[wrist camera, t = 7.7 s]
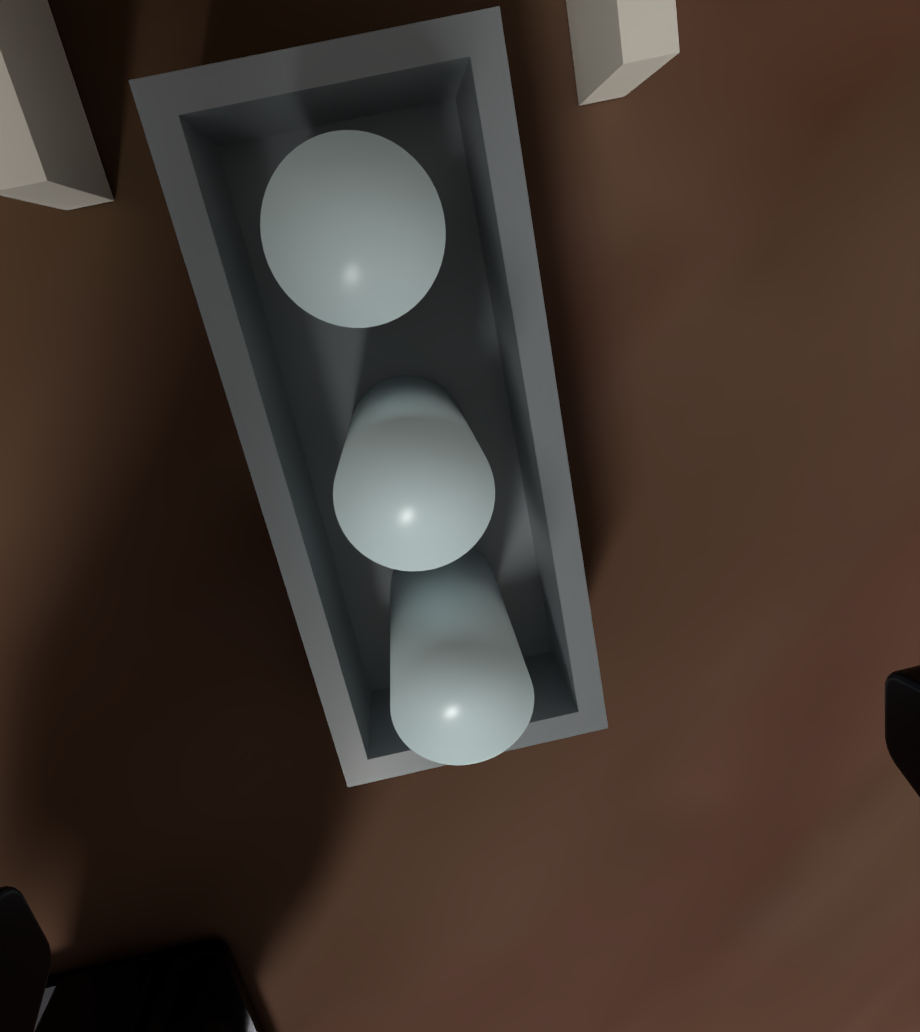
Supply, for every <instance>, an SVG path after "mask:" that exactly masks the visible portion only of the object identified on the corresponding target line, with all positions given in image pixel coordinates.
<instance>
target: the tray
mask: <svg viewBox="0 0 920 1032" xmlns="http://www.w3.org/2000/svg"><path fill="white" fill-rule="evenodd" d="M128 81H129V84H130V87H131V90H132V94H133V97H134V100H135V103H136V107H137V110H138V113H139V116H140V119H141V123H142V126H143V129H144V132H145V136H146V139H147V142H148V145H149V148H150V152H151V155H152V158H153V161H154V165H155V168H156V171H157V174H158V177H159V181H160V184H161V187H162V190H163V194H164V197H165V200H166V203H167V206H168V210H169V213H170V216H171V219H172V223H173V226H174V229H175V232H176V235H177V239H178V242H179V245H180V248H181V252H182V255H183V258H184V261H185V264H186V268H187V271H188V274H189V277H190V281H191V284H192V287H193V290H194V293H195V297H196V300H197V303H198V306H199V310H200V313H201V316H202V319H203V322H204V326H205V329H206V332H207V335H208V339H209V342H210V345H211V348H212V351H213V355H214V358H215V361H216V364H217V368H218V371H219V374H220V377H221V380H222V384H223V387H224V390H225V393H226V397H227V400H228V403H229V406H230V409H231V413H232V416H233V419H234V422H235V426H236V429H237V432H238V435H239V438H240V442H241V445H242V448H243V451H244V455H245V458H246V461H247V464H248V467H249V471H250V474H251V477H252V480H253V484H254V487H255V490H256V493H257V496H258V500H259V503H260V506H261V509H262V513H263V516H264V519H265V522H266V525H267V529H268V532H269V535H270V538H271V542H272V545H273V548H274V551H275V554H276V558H277V561H278V564H279V567H280V571H281V574H282V577H283V580H284V583H285V587H286V590H287V593H288V596H289V600H290V603H291V606H292V609H293V612H294V616H295V619H296V622H297V625H298V629H299V632H300V635H301V638H302V641H303V645H304V648H305V651H306V654H307V658H308V661H309V664H310V667H311V670H312V674H313V677H314V680H315V683H316V687H317V690H318V693H319V696H320V699H321V703H322V706H323V709H324V712H325V716H326V719H327V722H328V725H329V728H330V732H331V735H332V738H333V741H334V745H335V748H336V751H337V754H338V757H339V761H340V764H341V767H342V770H343V774H344V777H345V780H346V783H347V786H348V787H352V786H356V785H361V784H365V783H369V782H374V781H378V780H383V779H387V778H391V777H396V776H400V775H404V774H409V773H413V772H418V771H422V770H426V769H431V768H435V767H440V766H444V765H469V764H475V763H479V762H482V761H486V760H488V759H491V758H493V757H495V756H497V755H499V754H501V753H502V752H505V751H510V750H514V749H518V748H523V747H527V746H531V745H536V744H540V743H545V742H549V741H553V740H558V739H562V738H567V737H571V736H575V735H580V734H584V733H588V732H593V731H597V730H602V729H606V728H608V724H607V717H606V710H605V704H604V697H603V690H602V684H601V677H600V670H599V664H598V657H597V650H596V644H595V637H594V630H593V624H592V617H591V610H590V604H589V597H588V591H587V584H586V577H585V571H584V564H583V557H582V551H581V544H580V537H579V531H578V524H577V517H576V511H575V504H574V497H573V491H572V484H571V477H570V471H569V464H568V458H567V451H566V444H565V438H564V431H563V424H562V418H561V411H560V404H559V398H558V391H557V384H556V378H555V371H554V364H553V358H552V351H551V344H550V338H549V331H548V325H547V318H546V311H545V305H544V298H543V291H542V285H541V278H540V271H539V265H538V258H537V251H536V245H535V238H534V231H533V225H532V218H531V211H530V205H529V198H528V191H527V185H526V178H525V172H524V165H523V158H522V152H521V145H520V138H519V132H518V125H517V118H516V112H515V105H514V98H513V92H512V85H511V78H510V72H509V65H508V58H507V52H506V45H505V39H504V32H503V25H502V19H501V12H500V6H497V7H492V8H487V9H482V10H477V11H472V12H467V13H462V14H457V15H452V16H447V17H442V18H437V19H432V20H427V21H422V22H417V23H412V24H407V25H402V26H397V27H392V28H387V29H382V30H377V31H372V32H367V33H362V34H357V35H352V36H347V37H342V38H337V39H332V40H327V41H322V42H317V43H312V44H307V45H302V46H297V47H292V48H287V49H282V50H277V51H272V52H267V53H262V54H257V55H252V56H247V57H242V58H237V59H232V60H227V61H222V62H217V63H212V64H207V65H202V66H198V67H193V68H188V69H183V70H178V71H173V72H168V73H163V74H158V75H153V76H148V77H143V78H138V79H133V80H128Z"/></svg>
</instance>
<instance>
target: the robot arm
mask: <svg viewBox="0 0 920 1032" xmlns="http://www.w3.org/2000/svg"><path fill="white" fill-rule="evenodd" d="M885 739H886V744H887V748H888V751H889V753H890V755H891V757H892V759H893V761H894V763H895V764H896V766H897V767H898V768H899V770H900V771H901V773H902V774H903V775H904V777H905V778H906V779H907V781H908V782H909V783H910V785H911V786H912V787H913V789H914V790H915V792H916V793H917V794H918V796H919V797H920V665H919V666H915V667H911V668H907V669H902V670H898V671H895V672H893V673H891V674H890V675H889V676H888V677H887V679H886V682H885ZM210 957H212V958H210ZM50 966H51V951H50V946H49V943H48V941H47V939H46V937H45V935H44V933H43V931H42V929H41V928H40V926H39V924H38V922H37V920H36V918H35V917H34V915H33V913H32V911H31V909H30V907H29V906H28V904H27V902H26V900H25V898H24V896H23V895H22V893H21V892H20V891H19V890H17V889H16V888H14V887H8V886H4V887H0V1032H264V1030H263V1028H262V1025H261V1023H260V1020H259V1018H258V1016H257V1013H256V1011H255V1009H254V1006H253V1004H252V1001H251V999H250V997H249V994H248V992H247V990H246V987H245V985H244V982H243V980H242V978H241V975H240V973H239V971H238V968H237V966H236V963H235V961H234V959H233V956H232V954H231V951H230V949H229V947H228V946H227V944H226V943H224V942H223V941H221V940H217V939H207V940H202V941H198V942H194V943H190V944H185V945H181V946H177V947H172V948H168V949H164V950H159V951H155V952H151V953H147V954H142V955H138V956H134V957H129V958H125V959H121V960H116V961H112V962H108V963H104V964H99V965H95V966H91V967H86V968H82V969H78V970H74V971H69V972H65V973H61V974H56V975H52V976H49V972H50Z"/></svg>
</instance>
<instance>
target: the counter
mask: <svg viewBox="0 0 920 1032" xmlns="http://www.w3.org/2000/svg"><path fill="white" fill-rule="evenodd" d="M566 5H567V14H568V22H569V30H570V38H571V46H572V54H573V62H574V70H575V79H576V87H577V95H578V103H579V106H580V105H585V104H590V103H595V102H600V101H605V100H610V99H615V98H619V97H624V96H626V95H627V94H628V93H629V92H631V91H632V90H633V89H634V88H636V87H637V86H638V85H639V84H641V83H642V82H643V81H644V80H646V79H647V78H648V77H649V76H651V75H652V74H653V73H654V72H656V71H657V70H658V69H659V68H661V67H662V66H663V65H664V64H666V63H667V62H668V61H669V60H671V59H672V58H673V57H674V56H676V55H677V54H678V53H679V39H678V26H677V13H676V1H675V0H566ZM0 196H5V197H9V198H14V199H18V200H23V201H27V202H31V203H36V204H40V205H45V206H49V207H54V208H58V209H63V210H72V209H76V208H81V207H86V206H91V205H96V204H101V203H106V202H111V201H114V199H113V196H112V193H111V190H110V187H109V184H108V181H107V178H106V175H105V172H104V169H103V166H102V163H101V160H100V157H99V153H98V150H97V147H96V144H95V141H94V138H93V135H92V132H91V129H90V126H89V123H88V120H87V117H86V114H85V111H84V108H83V105H82V102H81V99H80V96H79V93H78V90H77V87H76V84H75V81H74V78H73V75H72V72H71V69H70V66H69V63H68V60H67V57H66V54H65V51H64V48H63V45H62V42H61V39H60V36H59V33H58V30H57V27H56V24H55V21H54V18H53V15H52V12H51V9H50V6H49V3H48V0H0Z"/></svg>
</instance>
